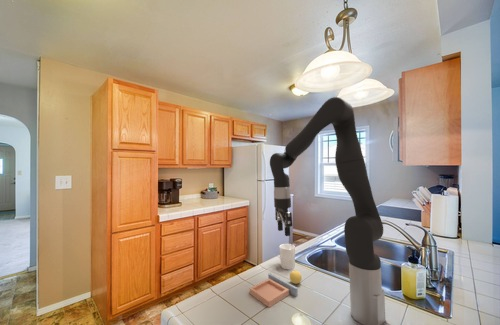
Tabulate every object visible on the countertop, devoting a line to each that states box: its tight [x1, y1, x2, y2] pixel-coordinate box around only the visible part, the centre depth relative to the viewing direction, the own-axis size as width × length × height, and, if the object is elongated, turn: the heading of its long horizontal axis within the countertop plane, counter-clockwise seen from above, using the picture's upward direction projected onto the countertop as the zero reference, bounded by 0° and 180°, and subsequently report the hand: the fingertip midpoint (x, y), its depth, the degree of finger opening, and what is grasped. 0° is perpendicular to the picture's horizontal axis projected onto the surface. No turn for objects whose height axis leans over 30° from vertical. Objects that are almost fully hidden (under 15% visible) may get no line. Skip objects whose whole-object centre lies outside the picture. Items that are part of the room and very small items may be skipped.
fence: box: [267, 272, 299, 297], centre depth 85 cm, size 15×1×3 cm, turn 40°
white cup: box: [278, 243, 296, 271], centre depth 104 cm, size 8×8×10 cm
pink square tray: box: [249, 278, 290, 308], centre depth 81 cm, size 11×11×2 cm
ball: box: [289, 270, 303, 285], centre depth 89 cm, size 5×5×5 cm
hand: (283, 233), depth 93 cm, fingers open, 8 cm apart
